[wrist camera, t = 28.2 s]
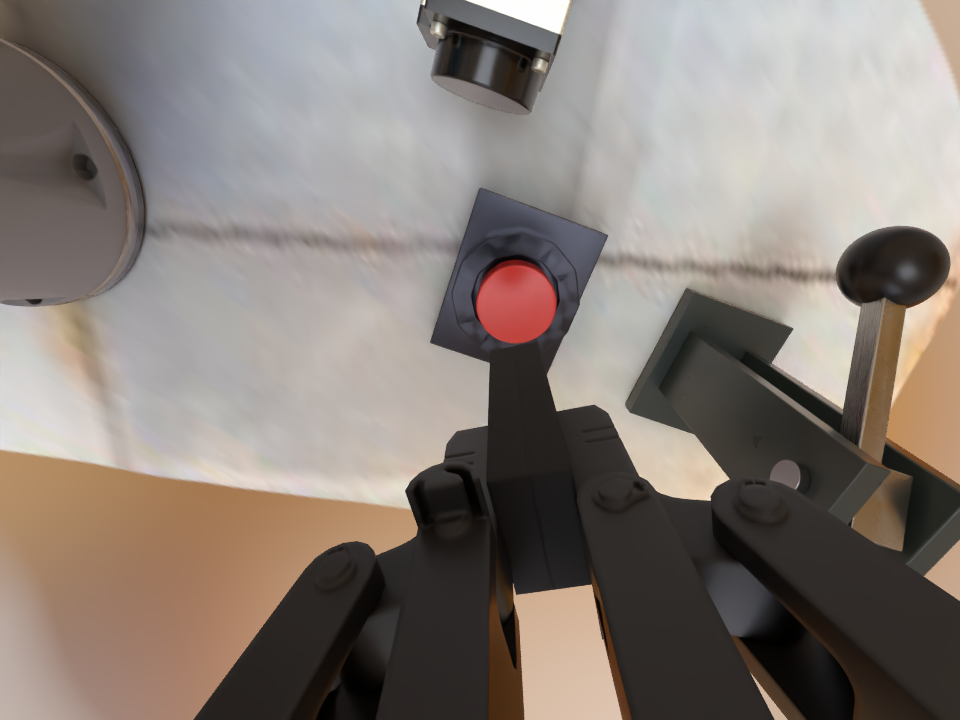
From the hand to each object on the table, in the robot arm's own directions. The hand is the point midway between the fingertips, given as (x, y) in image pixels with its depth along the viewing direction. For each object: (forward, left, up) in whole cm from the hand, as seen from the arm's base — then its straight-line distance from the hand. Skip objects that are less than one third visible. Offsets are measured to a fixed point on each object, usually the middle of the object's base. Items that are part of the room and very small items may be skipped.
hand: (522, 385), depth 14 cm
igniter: (0, 0, -13) cm, 13 cm away
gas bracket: (+4, -14, -16) cm, 21 cm away
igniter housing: (0, 0, -16) cm, 16 cm away
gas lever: (+7, -13, -6) cm, 16 cm away
